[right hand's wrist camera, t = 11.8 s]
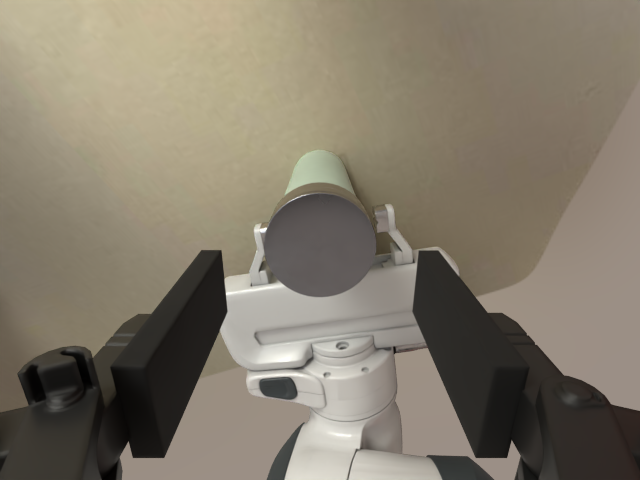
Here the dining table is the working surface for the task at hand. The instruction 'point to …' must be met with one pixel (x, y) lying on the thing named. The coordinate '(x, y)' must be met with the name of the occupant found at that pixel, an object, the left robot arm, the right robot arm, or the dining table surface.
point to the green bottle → (319, 171)
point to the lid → (320, 240)
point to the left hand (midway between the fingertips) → (322, 215)
